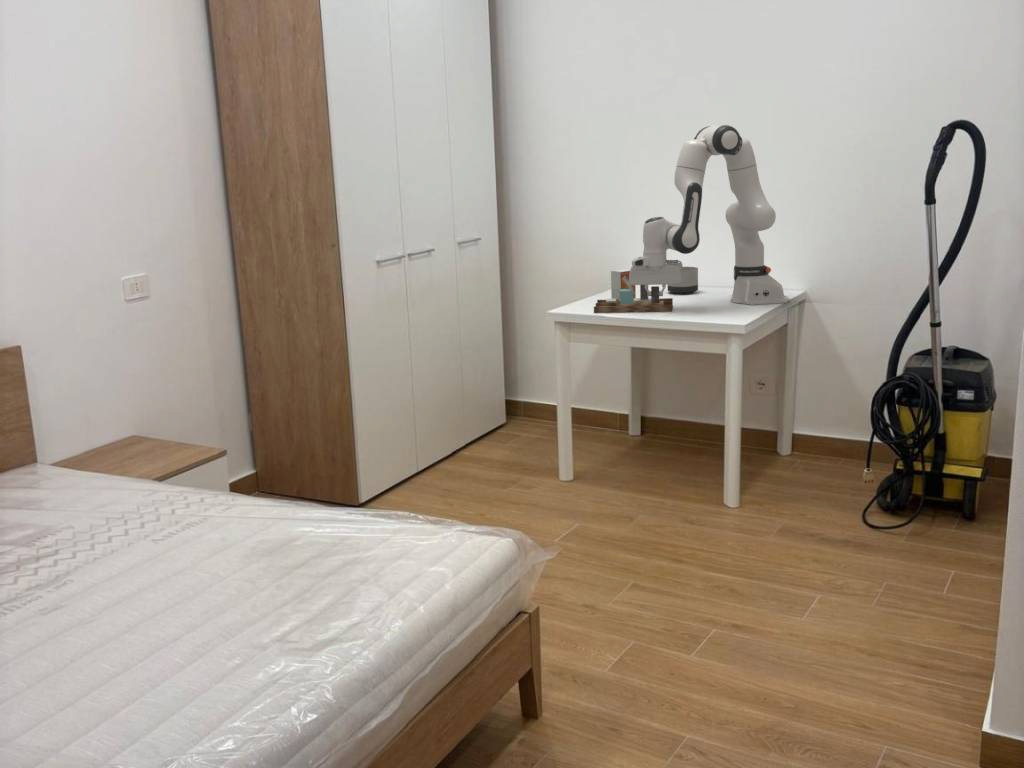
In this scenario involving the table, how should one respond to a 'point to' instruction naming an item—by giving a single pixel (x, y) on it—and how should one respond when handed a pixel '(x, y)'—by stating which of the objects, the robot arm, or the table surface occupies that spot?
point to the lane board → (633, 307)
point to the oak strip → (643, 303)
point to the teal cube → (626, 296)
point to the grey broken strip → (642, 298)
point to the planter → (686, 282)
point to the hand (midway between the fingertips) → (655, 296)
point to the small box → (620, 282)
